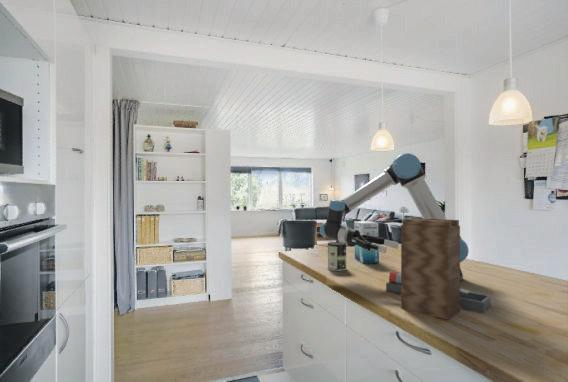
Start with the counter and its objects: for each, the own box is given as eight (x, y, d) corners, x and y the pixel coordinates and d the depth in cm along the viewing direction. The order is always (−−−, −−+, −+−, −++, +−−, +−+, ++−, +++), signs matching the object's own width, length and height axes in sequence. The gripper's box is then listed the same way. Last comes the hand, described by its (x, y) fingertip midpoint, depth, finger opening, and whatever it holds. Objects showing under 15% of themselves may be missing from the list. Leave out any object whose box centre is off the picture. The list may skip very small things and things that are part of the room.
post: (401, 308, 118) (401, 219, 118) (414, 300, 127) (414, 217, 127) (448, 320, 107) (448, 221, 107) (460, 310, 116) (459, 219, 116)
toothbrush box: (353, 258, 211) (353, 220, 212) (369, 258, 212) (369, 220, 212) (362, 263, 194) (362, 222, 194) (379, 263, 194) (379, 222, 195)
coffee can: (346, 267, 184) (346, 242, 185) (346, 271, 174) (346, 244, 174) (328, 266, 186) (328, 241, 187) (326, 270, 176) (326, 244, 177)
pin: (388, 281, 140) (389, 272, 140) (392, 279, 143) (393, 270, 143) (466, 304, 120) (467, 293, 120) (469, 301, 123) (470, 291, 123)
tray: (386, 291, 138) (386, 283, 139) (397, 286, 146) (397, 278, 146) (483, 312, 113) (483, 302, 113) (491, 305, 121) (491, 295, 121)
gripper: (360, 240, 167) (401, 252, 154) (334, 247, 148) (379, 260, 135) (362, 226, 166) (403, 236, 153) (337, 230, 147) (381, 243, 134)
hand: (392, 247), depth 144 cm, fingers open, 13 cm apart
